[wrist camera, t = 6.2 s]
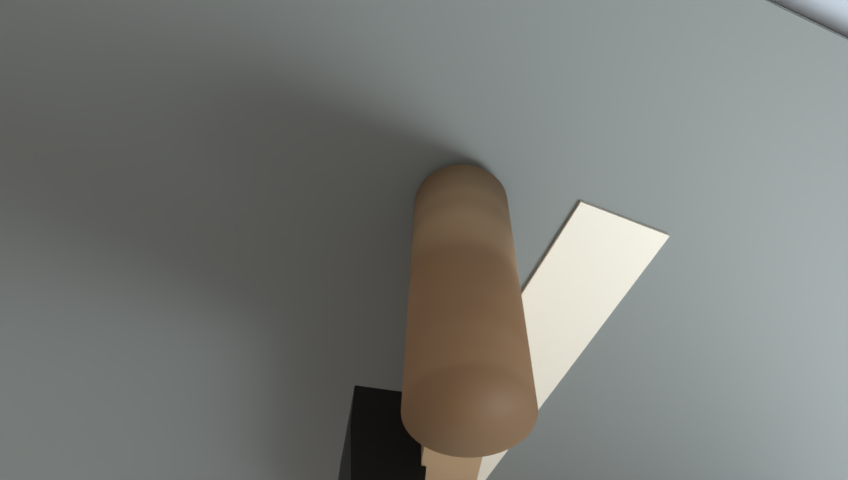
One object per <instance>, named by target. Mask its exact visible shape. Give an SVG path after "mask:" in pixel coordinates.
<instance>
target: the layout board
mask: <svg viewBox="0 0 848 480" xmlns="http://www.w3.org/2000/svg"><path fill="white" fill-rule="evenodd" d="M460 164H464V165H472V166H476V167H480V168H482V169H485V170H486V171H488V172H490V173H491V174H493V175H494V176H495V177H496V178H497V179H498V180H499V181H500V182H501V184H502V185H503V187H504V189H505V192H506V195H507V200H508V207H509V214H510V220H511V227H512V234H513V241H514V248H515V254H516V261H517V268H518V275H519V282H520V288H521V295H522V302H523V309H524V316H525V322H526V329H527V336H528V343H529V350H530V356H531V363H532V370H533V377H534V384H535V390H536V397H537V404H538V417H537V421H536V423H535V426H534V428H533V429H532V431H531V432H530V433H529V434H528V436H527V437H526V438H525V439H523V440H522V441H521V442H520V443H518V444H517V445H515V446H514V447H512V448H510V449H508V450H505V451H503V452H500V453H497V454H494V455H490V456H484V457H482V461H481V465H480V469H479V473H478V477H477V480H848V37H846V36H844V35H841V34H839V33H837V32H835V31H833V30H831V29H829V28H827V27H825V26H823V25H821V24H819V23H816V22H814V21H812V20H810V19H808V18H806V17H804V16H802V15H800V14H798V13H796V12H793V11H791V10H789V9H787V8H785V7H783V6H781V5H779V4H777V3H775V2H773V1H770V0H0V480H338V477H339V470H340V463H341V458H342V452H343V447H344V441H345V436H346V430H347V425H348V419H349V414H350V408H351V403H352V398H353V392H354V387H355V385H357V386H364V387H371V388H379V389H386V390H393V391H401V392H402V385H403V370H404V355H405V340H406V325H407V310H408V295H409V279H410V264H411V249H412V234H413V219H414V204H415V197H416V193H417V191H418V189H419V187H420V185H421V184H422V182H423V181H424V180H425V179H426V178H427V177H428V176H429V175H431V174H432V173H434V172H435V171H437V170H439V169H441V168H444V167H447V166H451V165H460Z"/></svg>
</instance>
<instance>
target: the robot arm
mask: <svg viewBox="0 0 848 480" xmlns="http://www.w3.org/2000/svg"><path fill="white" fill-rule="evenodd" d="M401 400H402V392H401V391H393V390H386V389H379V388H371V387H364V386H357V385H355V387H354V392H353V398H352V403H351V408H350V414H349V419H348V425H347V430H346V436H345V441H344V447H343V452H342V458H341V463H340V470H339V477H338V480H425V476H426V466H421V444H420V443H418V442H417V441H416V440H415V439H414V438H412V437H411V435H410V434H409V433H408V432H407V430H406V428H405V427H404V425H403V422H402V418H401Z"/></svg>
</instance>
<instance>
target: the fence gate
mask: <svg viewBox="0 0 848 480" xmlns="http://www.w3.org/2000/svg"><path fill="white" fill-rule="evenodd" d="M537 417H538V404H537V397H536V390H535V384H534V377H533V370H532V363H531V356H530V350H529V343H528V336H527V329H526V322H525V316H524V309H523V302H522V295H521V288H520V282H519V275H518V268H517V261H516V254H515V248H514V241H513V234H512V227H511V220H510V214H509V207H508V200H507V195H506V192H505V189H504V187H503V185H502V184H501V182H500V181H499V180H498V179H497V178H496V177H495V176H494V175H493V174H491V173H490V172H488V171H486V170H485V169H482V168H480V167H476V166H472V165H464V164H460V165H451V166H447V167H444V168H441V169H439V170H437V171H435V172H434V173H432V174H431V175H429V176H428V177H427V178H426V179H425V180H424V181H423V182H422V184H421V185H420V187H419V189H418V191H417V193H416V197H415V204H414V219H413V234H412V249H411V264H410V279H409V295H408V310H407V325H406V340H405V355H404V370H403V385H402V400H401V418H402V422H403V425H404V427H405V428H406V430H407V432H408V433H409V434H410V435H411V437H412V438H414V439H415V440H416V441H417V442H418V443H420V444H421V466H426V476H425V480H477V477H478V473H479V469H480V465H481V461H482V457H484V456H490V455H494V454H497V453H500V452H503V451H505V450H508V449H510V448H512V447H514V446H515V445H517V444H518V443H520V442H521V441H522V440H523V439H525V438H526V437H527V436H528V434H529V433H530V432H531V431H532V429H533V428H534V426H535V423H536V421H537Z"/></svg>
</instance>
